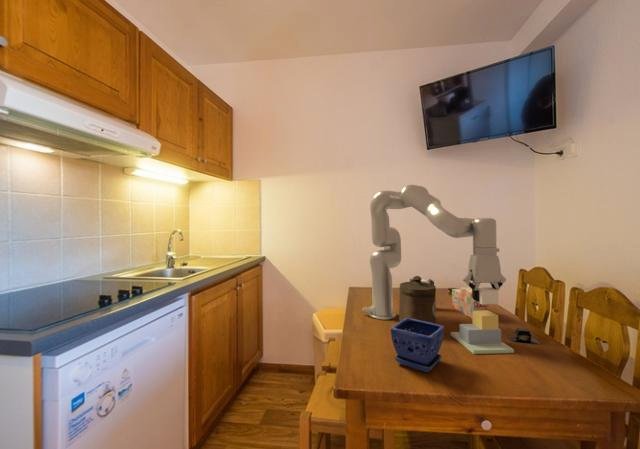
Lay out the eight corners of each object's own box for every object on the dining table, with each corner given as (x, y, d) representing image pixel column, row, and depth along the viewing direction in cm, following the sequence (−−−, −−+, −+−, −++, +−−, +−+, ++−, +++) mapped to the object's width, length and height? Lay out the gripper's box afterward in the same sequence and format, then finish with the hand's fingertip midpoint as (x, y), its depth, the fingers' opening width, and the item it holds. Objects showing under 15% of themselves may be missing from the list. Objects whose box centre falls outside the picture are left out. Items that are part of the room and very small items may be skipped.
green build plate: (473, 353, 97) (473, 350, 97) (450, 335, 113) (450, 332, 113) (513, 352, 97) (513, 349, 97) (485, 334, 113) (485, 331, 113)
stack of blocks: (451, 306, 151) (451, 283, 151) (463, 306, 151) (463, 283, 151) (474, 320, 129) (474, 293, 129) (487, 320, 129) (487, 293, 129)
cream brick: (472, 299, 108) (472, 286, 108) (488, 299, 108) (488, 286, 108) (481, 304, 102) (481, 290, 102) (498, 304, 102) (498, 290, 102)
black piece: (538, 339, 109) (538, 327, 109) (547, 348, 102) (547, 335, 102) (501, 336, 112) (501, 324, 112) (507, 344, 105) (507, 331, 105)
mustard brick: (481, 329, 102) (481, 315, 102) (472, 323, 108) (472, 310, 108) (498, 329, 102) (498, 315, 102) (488, 323, 108) (487, 310, 108)
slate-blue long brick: (468, 344, 102) (468, 330, 102) (459, 337, 108) (459, 324, 108) (501, 343, 102) (501, 329, 102) (490, 336, 108) (490, 323, 108)
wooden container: (443, 332, 116) (443, 278, 116) (410, 336, 113) (410, 280, 112) (423, 320, 130) (422, 272, 130) (393, 323, 127) (392, 274, 127)
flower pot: (406, 349, 100) (406, 316, 100) (445, 361, 92) (445, 324, 92) (389, 364, 90) (389, 327, 90) (432, 379, 82) (432, 338, 82)
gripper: (500, 250, 109) (501, 297, 109) (456, 250, 108) (456, 298, 108) (514, 252, 101) (515, 302, 101) (467, 253, 101) (467, 303, 101)
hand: (484, 299), depth 105 cm, fingers closed on cream brick, 6 cm apart
